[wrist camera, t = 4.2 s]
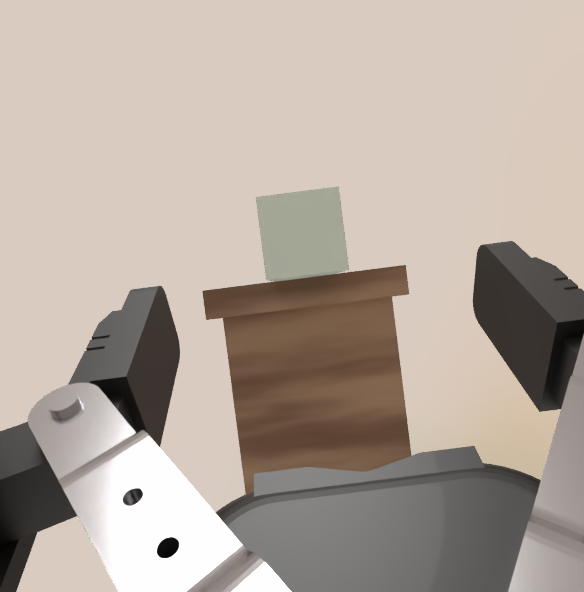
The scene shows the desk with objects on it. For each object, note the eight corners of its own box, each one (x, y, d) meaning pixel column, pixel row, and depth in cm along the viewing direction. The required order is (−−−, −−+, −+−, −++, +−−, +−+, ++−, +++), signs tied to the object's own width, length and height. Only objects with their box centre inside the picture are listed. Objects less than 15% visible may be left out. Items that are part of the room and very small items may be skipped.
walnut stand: (461, 721, 34) (405, 265, 34) (261, 745, 34) (202, 290, 34) (417, 608, 46) (376, 270, 46) (270, 626, 46) (226, 289, 46)
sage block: (349, 269, 24) (338, 186, 23) (266, 279, 24) (255, 197, 24) (320, 278, 50) (315, 238, 49) (281, 283, 50) (276, 243, 49)
